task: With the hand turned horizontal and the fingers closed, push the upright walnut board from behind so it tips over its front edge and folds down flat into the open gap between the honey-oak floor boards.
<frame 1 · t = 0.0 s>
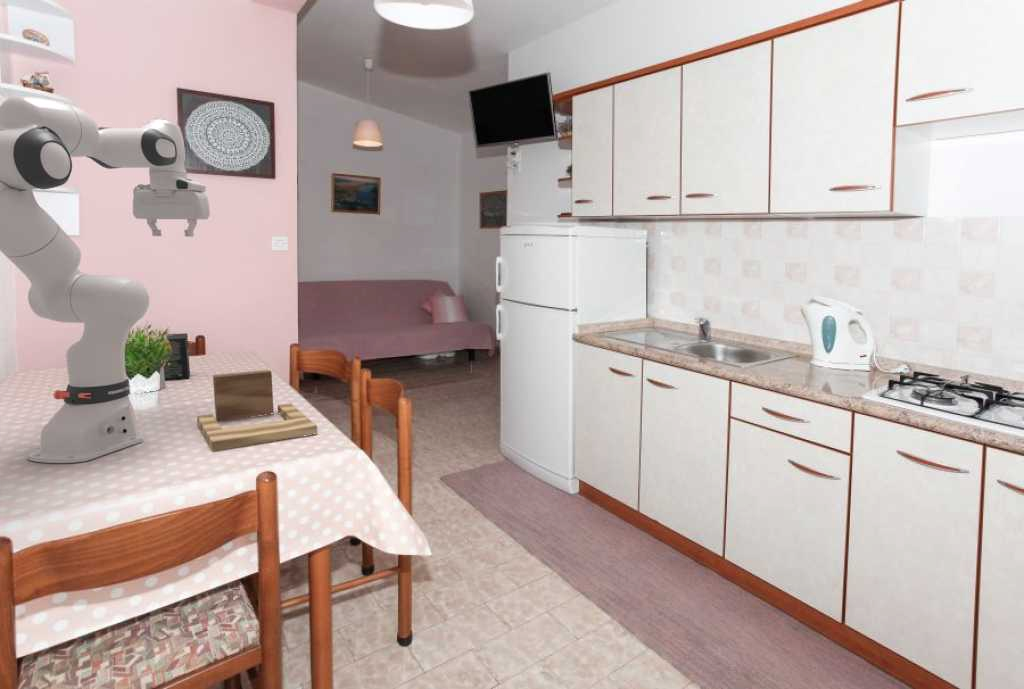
hand: (173, 236, 166), 48 cm above the table, tool pointing down, fingers open, 8 cm apart
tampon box: (174, 377, 211), on the table
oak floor: (251, 424, 158), on the table
mug: (143, 390, 193), on the table
plank: (245, 416, 165), on the table
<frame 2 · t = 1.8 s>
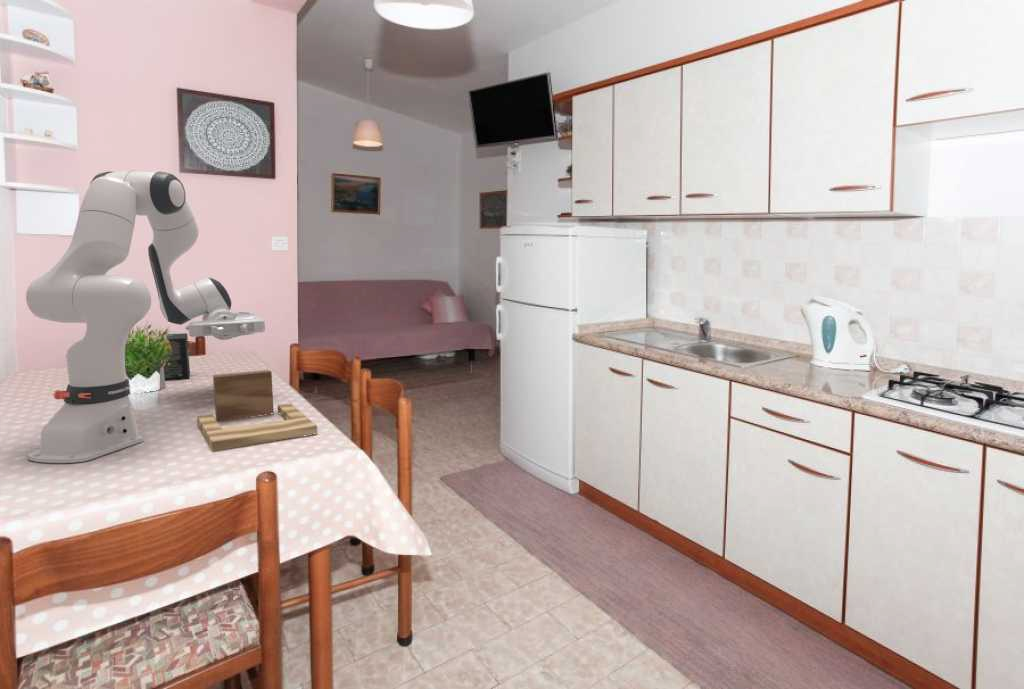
hand: (231, 330, 171), 22 cm above the table, tool horizontal, fingers open, 5 cm apart
nothing on the table moved.
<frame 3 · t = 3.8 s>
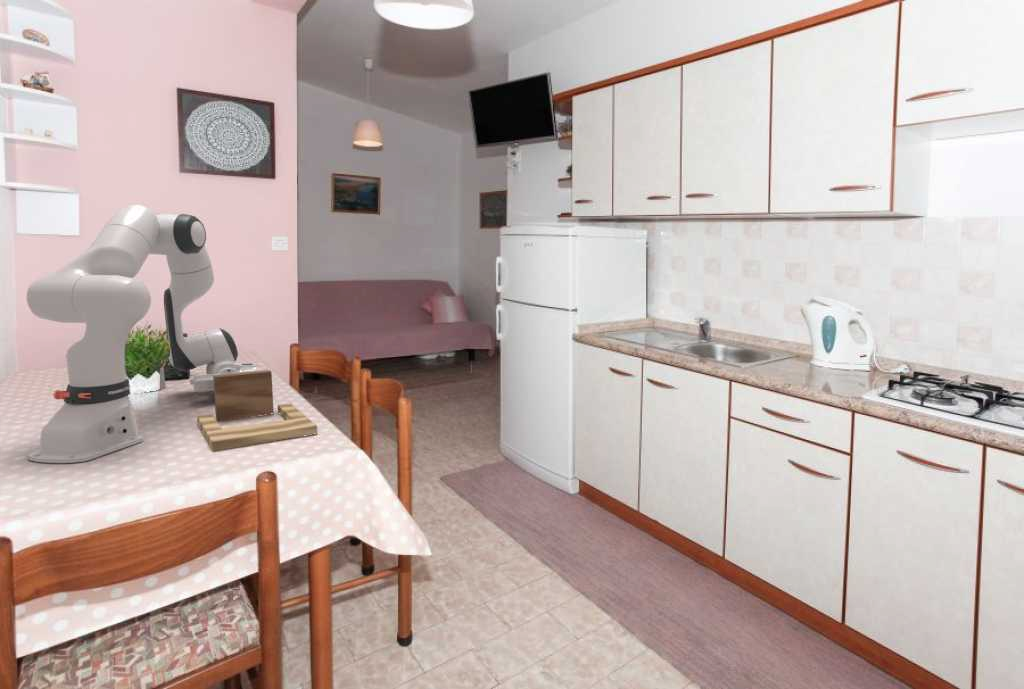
hand: (235, 385, 174), 6 cm above the table, tool horizontal, fingers closed
nothing on the table moved.
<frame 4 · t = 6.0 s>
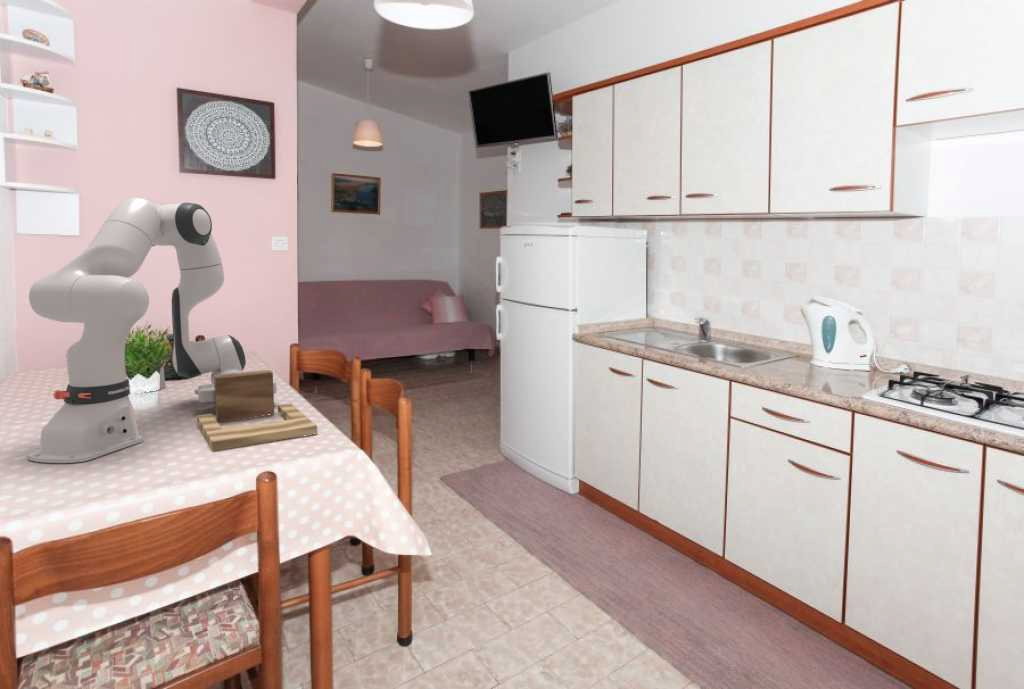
hand: (242, 396, 165), 5 cm above the table, tool horizontal, fingers closed
plank: (245, 416, 164), on the table, touching gripper
everything else where it was.
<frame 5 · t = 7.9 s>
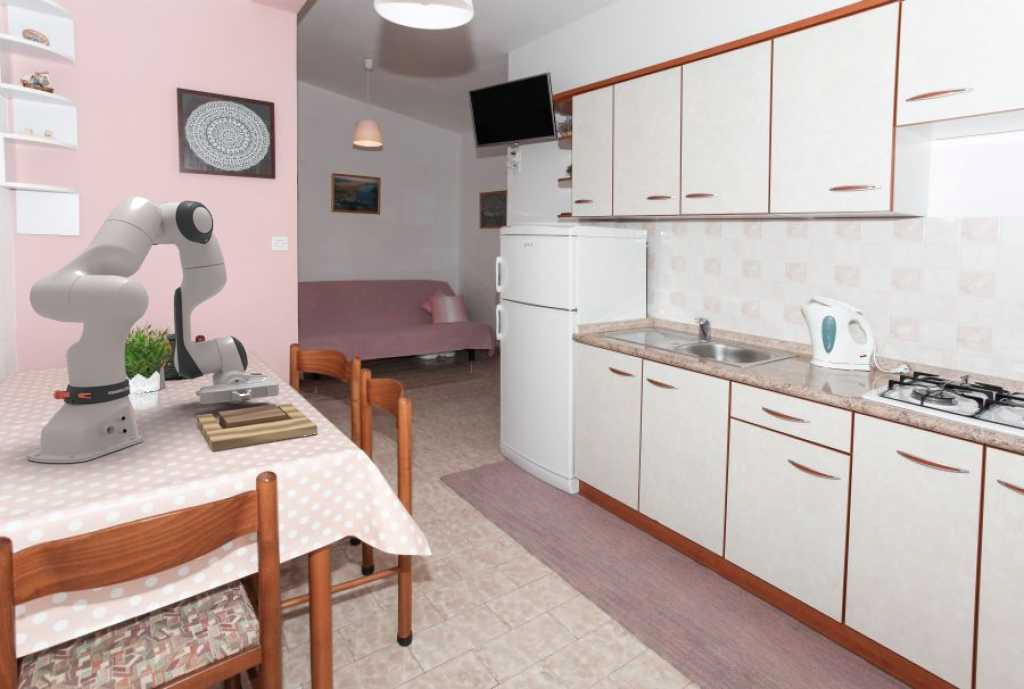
hand: (244, 397, 163), 6 cm above the table, tool horizontal, fingers closed
plank: (247, 414, 162), point 1 cm above the table, tilted 90°
everything else where it was.
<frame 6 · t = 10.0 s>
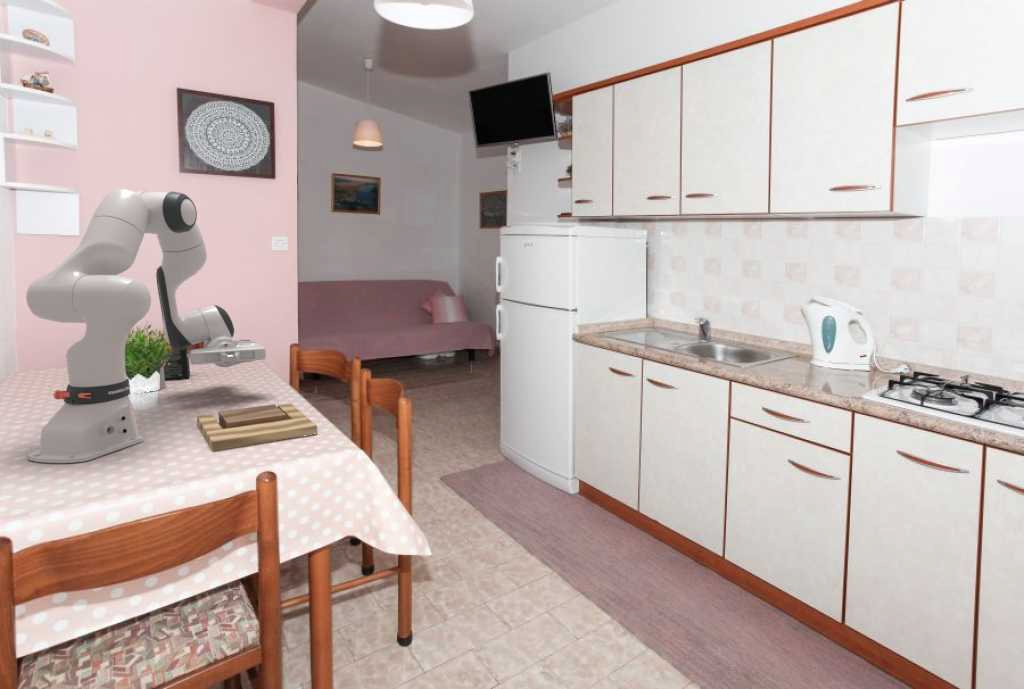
hand: (232, 358, 172), 14 cm above the table, tool horizontal, fingers closed
nothing on the table moved.
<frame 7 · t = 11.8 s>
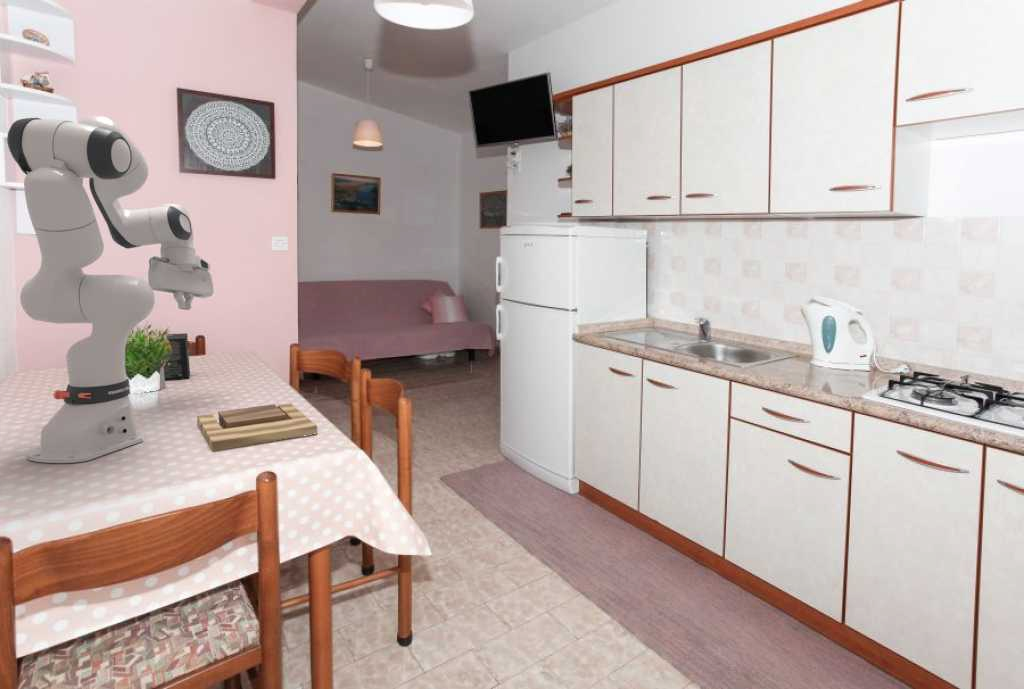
hand: (185, 309, 172), 28 cm above the table, tool tilted 20°, fingers closed
nothing on the table moved.
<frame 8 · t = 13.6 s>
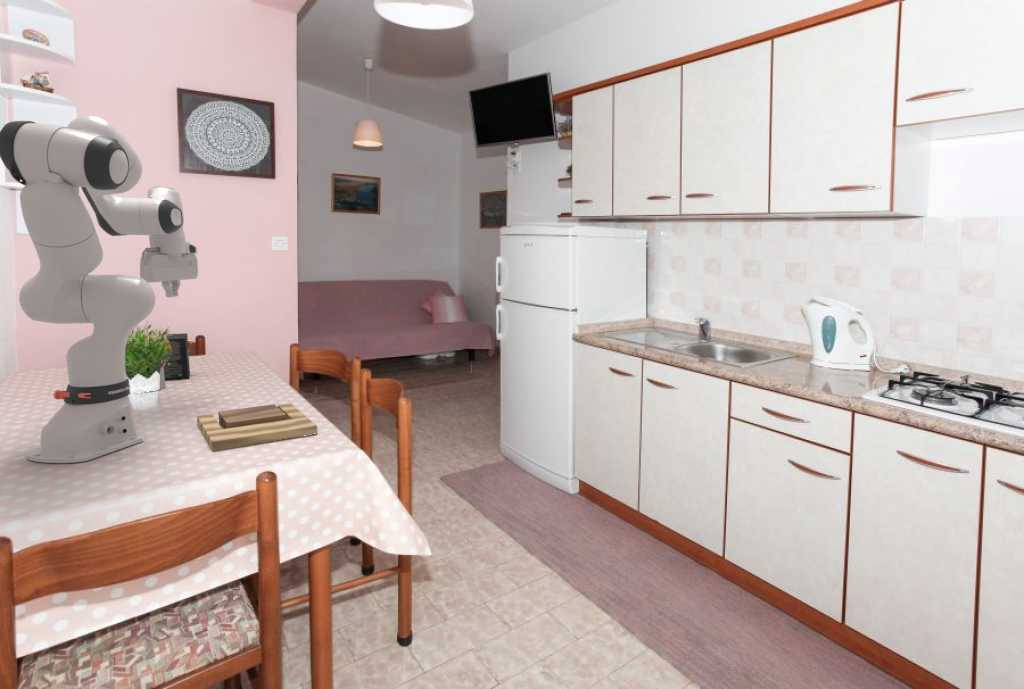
hand: (172, 296, 172), 31 cm above the table, tool pointing down, fingers closed
nothing on the table moved.
at the end: plank tilted 90°; plank inside the target area (1.2 cm from its centre), point 1.3 cm above the table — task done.
